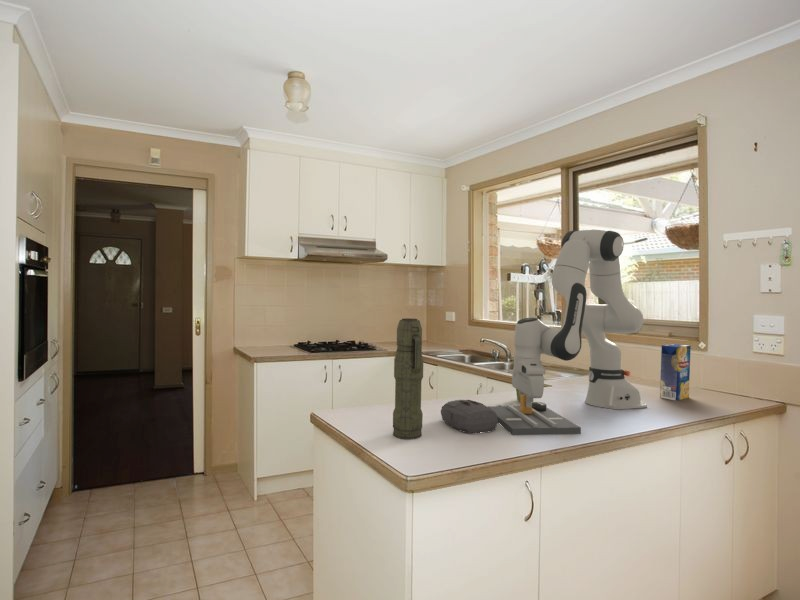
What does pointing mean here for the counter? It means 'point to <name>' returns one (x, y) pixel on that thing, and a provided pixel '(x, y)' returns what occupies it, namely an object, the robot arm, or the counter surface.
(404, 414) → the thermos
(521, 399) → the fader knob
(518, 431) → the console board
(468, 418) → the small grey backpack
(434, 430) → the counter surface
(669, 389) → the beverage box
